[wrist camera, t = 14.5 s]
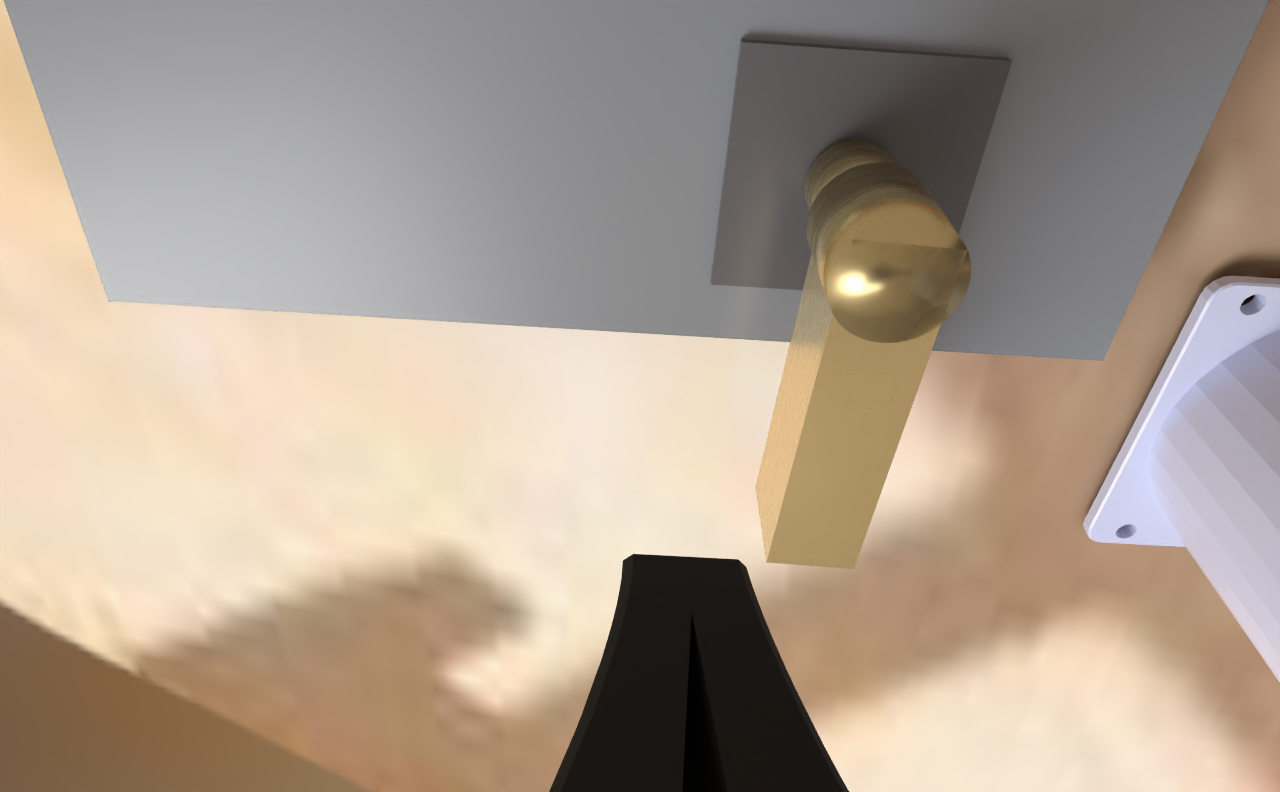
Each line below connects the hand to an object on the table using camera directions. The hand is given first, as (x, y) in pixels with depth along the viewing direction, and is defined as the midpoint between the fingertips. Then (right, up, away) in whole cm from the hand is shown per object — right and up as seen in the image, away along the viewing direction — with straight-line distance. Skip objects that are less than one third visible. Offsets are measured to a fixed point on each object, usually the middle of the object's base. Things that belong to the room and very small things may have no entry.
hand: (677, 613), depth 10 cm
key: (+3, +4, +6) cm, 8 cm away
